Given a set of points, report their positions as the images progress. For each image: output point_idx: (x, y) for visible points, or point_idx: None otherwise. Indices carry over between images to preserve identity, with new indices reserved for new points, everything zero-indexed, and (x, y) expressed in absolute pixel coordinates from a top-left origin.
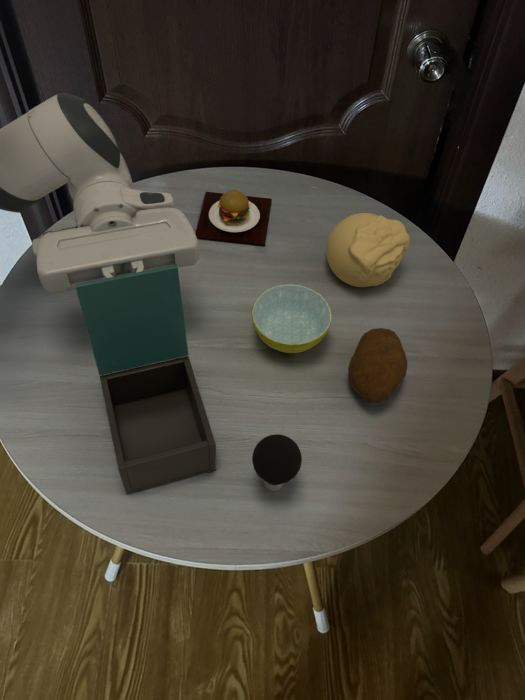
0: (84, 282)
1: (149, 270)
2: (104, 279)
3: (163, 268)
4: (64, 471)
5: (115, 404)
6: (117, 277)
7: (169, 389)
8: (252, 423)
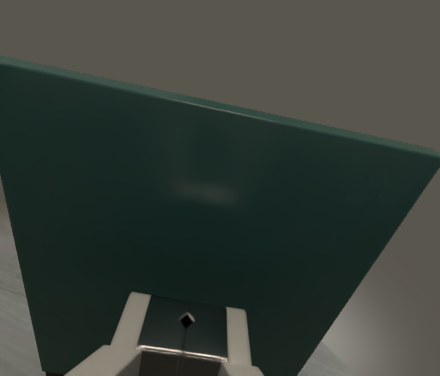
0: (407, 149)
1: (119, 87)
2: (323, 129)
3: (54, 69)
4: (313, 369)
5: None
6: (268, 114)
7: None
8: (15, 324)
